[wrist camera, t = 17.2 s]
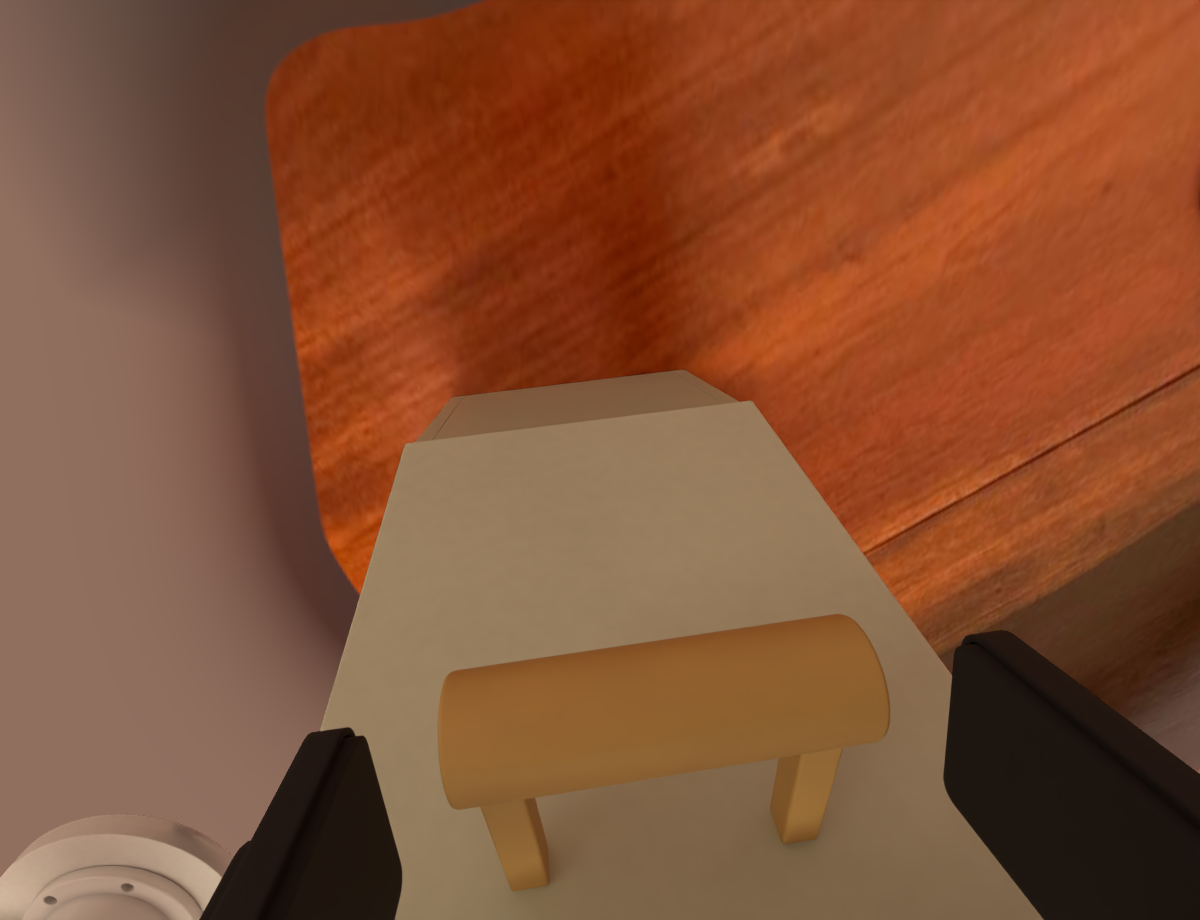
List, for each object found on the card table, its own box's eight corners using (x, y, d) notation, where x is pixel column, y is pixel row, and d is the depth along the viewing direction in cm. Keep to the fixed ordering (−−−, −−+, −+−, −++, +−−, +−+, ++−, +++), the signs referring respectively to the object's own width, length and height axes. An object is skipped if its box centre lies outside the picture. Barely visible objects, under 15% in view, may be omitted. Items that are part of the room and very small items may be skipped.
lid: (1114, 943, 10) (1343, 743, 7) (230, 1110, 9) (-35, 977, 6) (750, 415, 25) (762, 274, 22) (409, 458, 24) (366, 318, 21)
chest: (700, 613, 42) (758, 734, 31) (496, 643, 41) (478, 779, 30) (685, 369, 37) (748, 405, 25) (451, 397, 36) (409, 448, 25)
